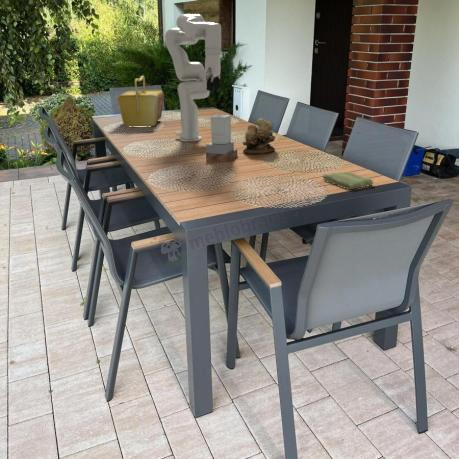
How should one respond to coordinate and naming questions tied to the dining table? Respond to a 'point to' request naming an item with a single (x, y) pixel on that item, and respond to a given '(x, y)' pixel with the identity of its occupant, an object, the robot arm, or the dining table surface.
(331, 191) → the dining table surface
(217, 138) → the supplement box
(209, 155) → the walnut base block
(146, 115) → the picnic basket
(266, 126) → the carved figurine
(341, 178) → the washcloth
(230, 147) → the grey top block
